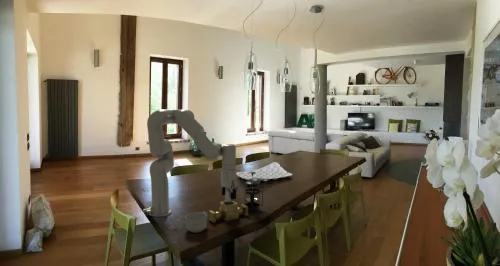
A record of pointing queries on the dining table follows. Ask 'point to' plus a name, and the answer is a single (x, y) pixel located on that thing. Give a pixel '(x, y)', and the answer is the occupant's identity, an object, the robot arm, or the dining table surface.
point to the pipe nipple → (228, 196)
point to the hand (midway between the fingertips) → (228, 197)
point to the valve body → (228, 212)
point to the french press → (252, 205)
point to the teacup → (196, 221)
